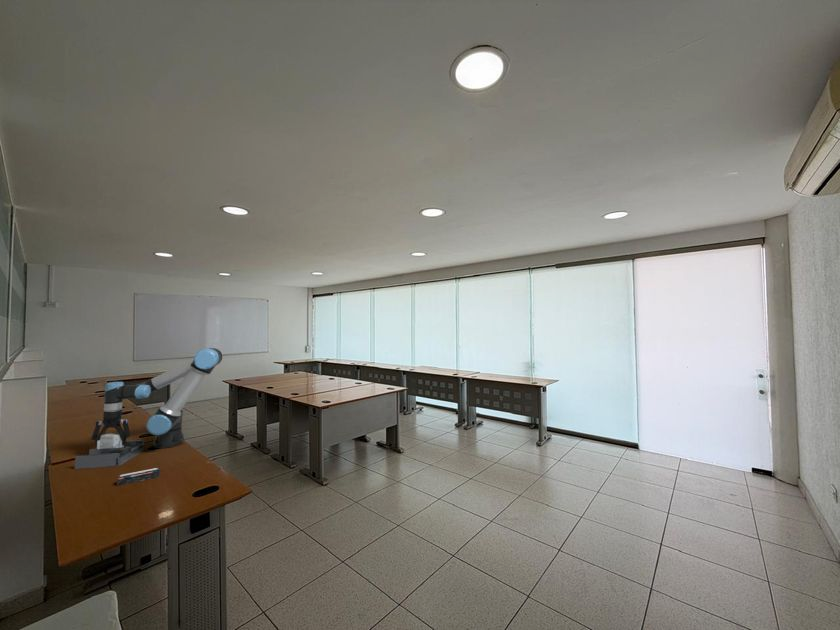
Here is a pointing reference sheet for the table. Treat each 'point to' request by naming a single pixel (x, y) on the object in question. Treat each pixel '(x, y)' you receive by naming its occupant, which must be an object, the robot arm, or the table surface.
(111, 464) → the rack
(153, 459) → the table surface
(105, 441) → the ink box
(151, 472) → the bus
